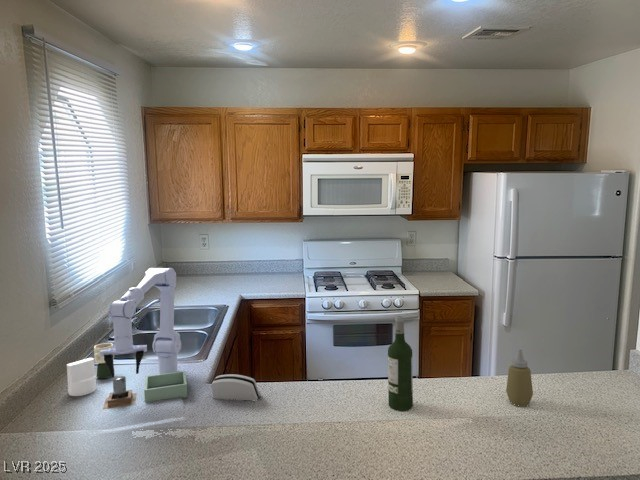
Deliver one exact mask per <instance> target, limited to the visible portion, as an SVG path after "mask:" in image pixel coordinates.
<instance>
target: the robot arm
mask: <svg viewBox="0 0 640 480" xmlns="http://www.w3.org/2000/svg"><path fill="white" fill-rule="evenodd" d="M144 272H145V274H144V277H143V279H141V280H140V282H139V283H138V284H137V286H136V287H134V286H133V287H130V288H129V289H128V290H127V291H126V292H125V294H124V295H123V296H121V298H120V299H118V300H115V301H113V302H112V303H110V305H109V308H108V309H109V310H108V315H109V316H110V318H111V319H110V320H111V323H113V325H112V326H113V339H114V347H113V348H110V349H105V350H101V351H100V356H101V357H104V361H105V362H106V364H107V365H108V367H109V369H110V372H111V375H112V376H111V378H115V366H114V359H113V355H114V356H117V355H124V354H125V355H128V354H135V374H136V375H138V374H139V372H140V365H141V362H142V359H143V357H144V354H145V353H147V352H148V345H147V344H139V345H134V341H133V339H134V338H133V324H132V323H133V321H132V318H133V317H134V315H135V312H136V310H137V306H138V305H139V304H141V302H142V301H143V300H144V298H145V293H146V292H148V291H149V290H150V289H151V288H152V287H155V288H157V289H158V290H159V291H160V296H159V297H160V299H159V300H160V301H159V302H160V304H159V305H160V306H159V307H160V308H159V309H160V310H159V313H160V314H159V331H157V333H155V334H154V337H153V341H152V350H153V352H154V353H155V356H156V357H157V359H158V360H157V362H158V366H157V367H158V372H159V374H166V373H173V372H178V369H179V368H178V354H179V353H180V351H181V349H182V341H181V334H180V333H179V332H177V330H175V328H174V326H175V325H174V324H175V323H174V321H175V288H176V287H177V272H176V271H175V269H174V268H172V267H149V268H148V269H147V270H146V271H144Z"/></svg>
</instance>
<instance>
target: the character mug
mask: <svg viewBox="0 0 640 480" xmlns="http://www.w3.org/2000/svg"><path fill="white" fill-rule="evenodd" d="M110 348H114V343H112V342H105V343H104V342H103V343H98V344H96V345H94V346H93V355H94V358H93V359H94V363H95V364H96V363H97V365H96V366H97V367H96V368H97V369H96V378H99V379H107V378H108V377H109V378H112V375H111V372H110V369H109V367H108V365H107V364H106V362H105V361H104V357H101V356H100V351H101V350H105V349H110ZM114 359H115V355H113V360H114Z"/></svg>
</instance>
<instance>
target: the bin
mask: <svg viewBox="0 0 640 480" xmlns="http://www.w3.org/2000/svg"><path fill="white" fill-rule="evenodd" d="M143 391H144V402H145V403H146V402H153V401H160V400H165V399H171V398H172V399H173V398H179V397H181V399H182V400H183V399H188V383H187V377H186V371H185V370H183V371H179V372H173V373H166V374H159V375H158V374H152V375H146V376H145V380H144V390H143Z"/></svg>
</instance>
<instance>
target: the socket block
mask: <svg viewBox="0 0 640 480" xmlns="http://www.w3.org/2000/svg"><path fill="white" fill-rule="evenodd" d="M137 395H138V393H137V392H135V393H133V389H126V396H127V397H124V398H117V399H114V392H109V395H108V397H105V401H104V404H103V407H102V410H108V409H115V408H120V407H121V408H122V407H127V406H134V405H136V401H137Z"/></svg>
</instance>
